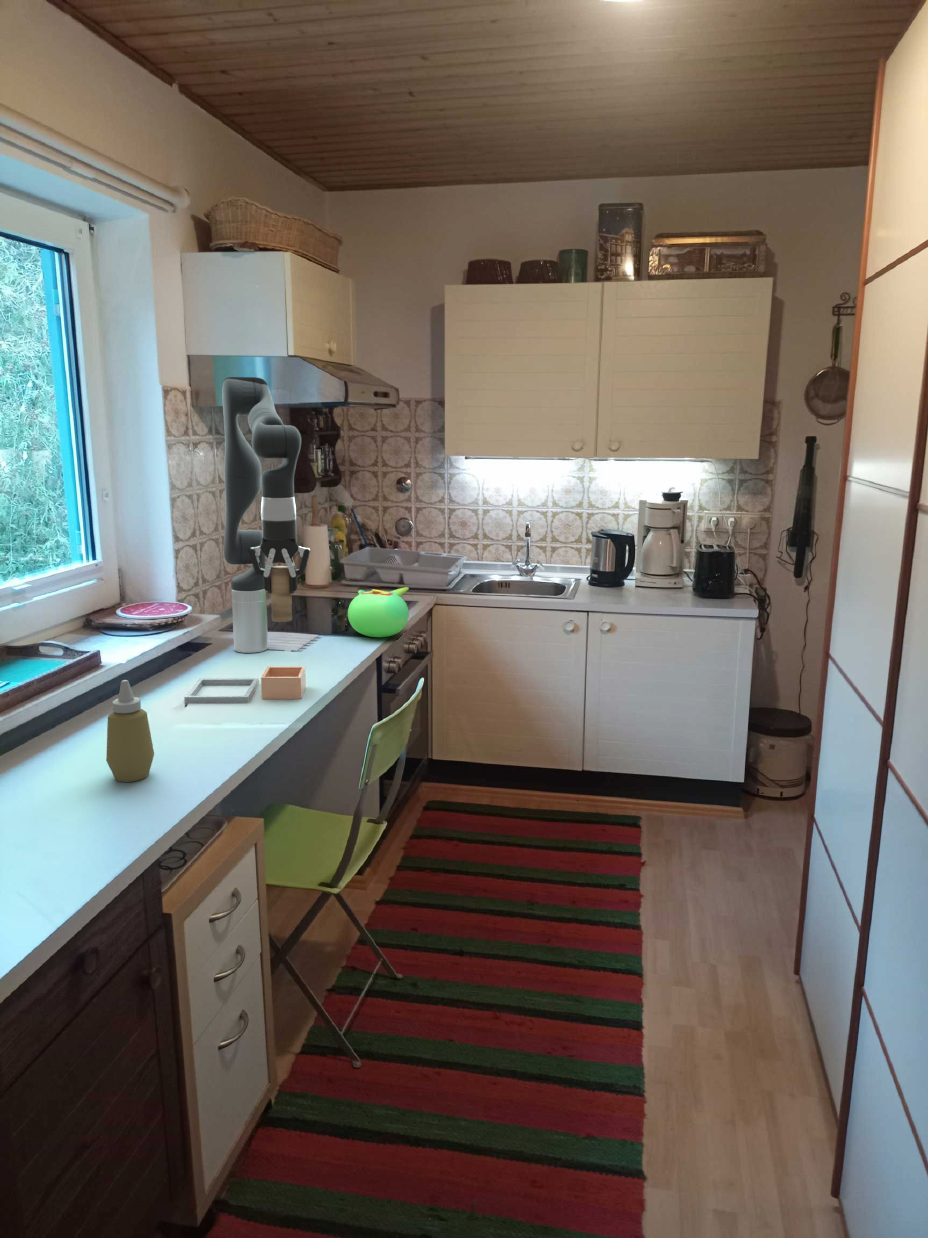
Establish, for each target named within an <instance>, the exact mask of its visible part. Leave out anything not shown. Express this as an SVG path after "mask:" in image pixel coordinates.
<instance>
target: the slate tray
mask: <svg viewBox="0 0 928 1238" xmlns="http://www.w3.org/2000/svg"><path fill="white" fill-rule="evenodd" d="M259 684H260V679H259V678H258V677H257V678H253V677H251V678H247V677H245V678H241V677H238V678H237V677H236V678H235V677H234V678H221V677H219V678H212V677H211V678H198V679H197V680H196V681H195V683H194V684H193V686H192V687H191V688H190V689H189V690H188V691H187V693H186V694H185V696H184V708H187V707H188V705H189V704H223V703H224V704H233V703H234V704H237V703H238V704H239V703H240V704H241V703H242V704H246V703H247V704H248V703H250V701H251V699H252V697H253V695H254V693H255V691H256V690H257V688H258V686H259ZM203 686H249V687H248V689H247V691H246V692H245V693H244V695H196V694H197V693H198V692H199V691H200V689H201V688H202V687H203Z"/></svg>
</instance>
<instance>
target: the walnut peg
mask: <svg viewBox="0 0 928 1238" xmlns="http://www.w3.org/2000/svg"><path fill="white" fill-rule="evenodd" d="M270 576H271V593H270V596H271V597H270V601H271V603H270V604H271V621H273V622H276V623H287V622H292V620H293V606H292V605H293V603H292V594H291V593H290V577H291V575H290V572H289V569H288V567H287V565H273V567H271V570H270Z"/></svg>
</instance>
